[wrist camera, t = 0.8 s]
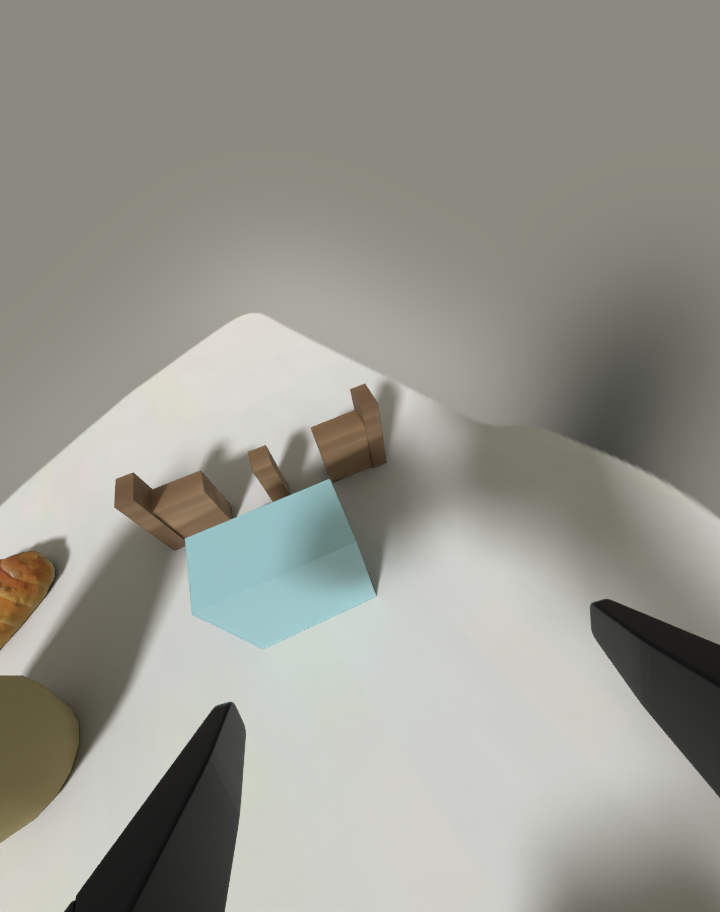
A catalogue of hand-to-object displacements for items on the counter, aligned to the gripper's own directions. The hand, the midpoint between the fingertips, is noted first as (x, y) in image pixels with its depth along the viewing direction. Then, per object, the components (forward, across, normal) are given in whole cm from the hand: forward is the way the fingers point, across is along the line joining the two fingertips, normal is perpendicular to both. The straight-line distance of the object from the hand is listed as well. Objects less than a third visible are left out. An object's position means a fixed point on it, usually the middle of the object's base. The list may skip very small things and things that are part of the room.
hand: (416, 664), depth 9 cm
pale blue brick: (+16, +6, +7) cm, 18 cm away
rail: (+22, +7, +3) cm, 23 cm away
